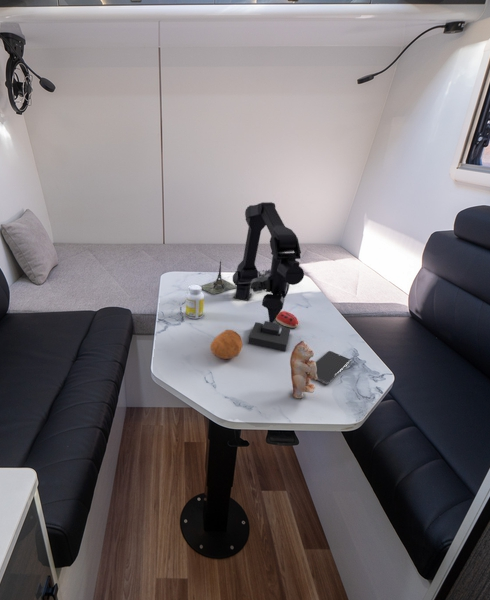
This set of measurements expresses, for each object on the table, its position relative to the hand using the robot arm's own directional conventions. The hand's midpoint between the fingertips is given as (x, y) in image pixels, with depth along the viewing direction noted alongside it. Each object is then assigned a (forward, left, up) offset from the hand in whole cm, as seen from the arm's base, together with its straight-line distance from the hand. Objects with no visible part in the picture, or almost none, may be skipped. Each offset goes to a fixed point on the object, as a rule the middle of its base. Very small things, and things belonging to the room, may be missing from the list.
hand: (273, 315), depth 124 cm
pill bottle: (-4, -29, -8) cm, 30 cm away
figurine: (+27, +12, -8) cm, 31 cm away
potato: (+17, -11, -8) cm, 22 cm away
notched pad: (+2, 0, -8) cm, 8 cm away
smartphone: (+12, +19, -8) cm, 24 cm away
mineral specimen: (-41, -10, -8) cm, 43 cm away
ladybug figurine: (-12, +4, -8) cm, 15 cm away
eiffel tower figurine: (-33, -28, -8) cm, 44 cm away
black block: (0, 0, -8) cm, 8 cm away
